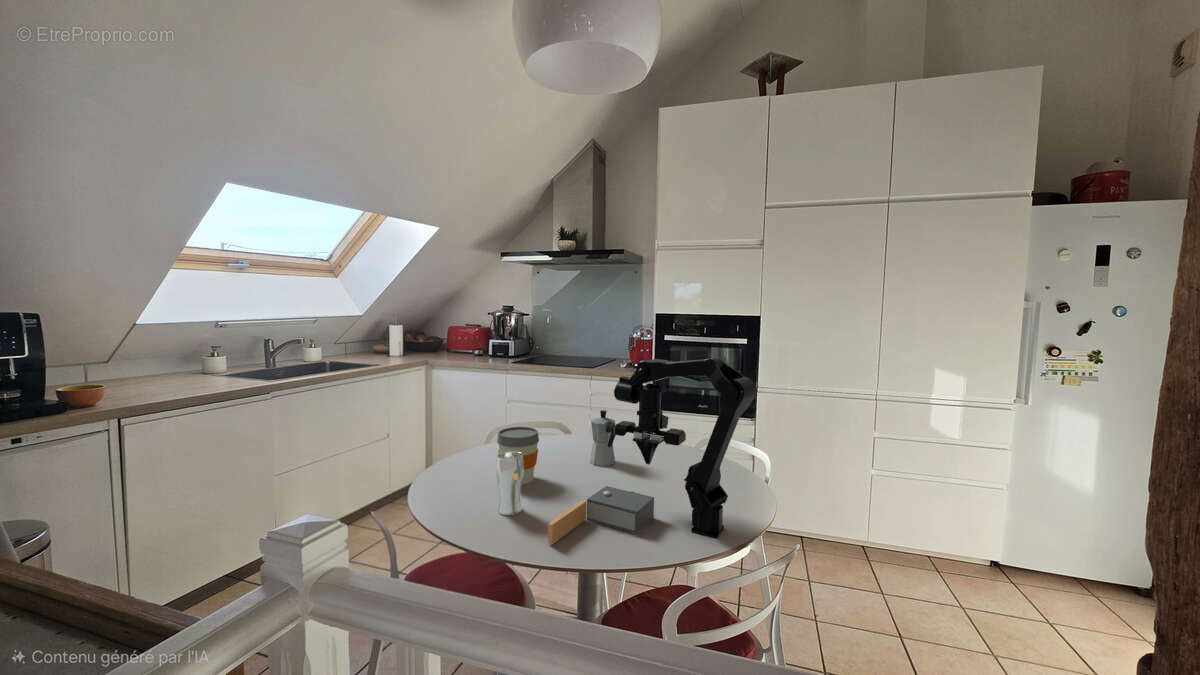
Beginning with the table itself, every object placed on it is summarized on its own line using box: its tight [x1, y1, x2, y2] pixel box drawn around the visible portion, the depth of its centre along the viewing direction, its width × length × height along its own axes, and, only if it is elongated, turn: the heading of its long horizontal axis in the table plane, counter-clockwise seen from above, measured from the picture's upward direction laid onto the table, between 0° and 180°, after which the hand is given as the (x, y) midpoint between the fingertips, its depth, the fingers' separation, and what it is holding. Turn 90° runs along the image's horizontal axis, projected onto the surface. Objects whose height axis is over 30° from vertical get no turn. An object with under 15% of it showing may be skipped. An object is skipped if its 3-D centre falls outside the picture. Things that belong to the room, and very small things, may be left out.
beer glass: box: [496, 451, 524, 517], centre depth 129 cm, size 7×7×15 cm
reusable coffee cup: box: [497, 426, 540, 486], centre depth 150 cm, size 13×13×15 cm
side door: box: [547, 500, 587, 545], centre depth 118 cm, size 15×2×5 cm, turn 151°
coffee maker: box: [589, 409, 617, 468], centre depth 166 cm, size 15×9×18 cm, turn 25°
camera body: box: [586, 485, 655, 535], centre depth 126 cm, size 14×12×6 cm
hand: (648, 463), depth 131 cm, fingers closed
